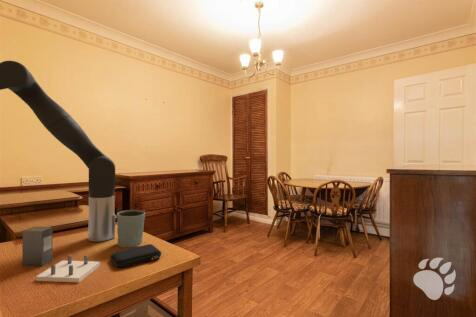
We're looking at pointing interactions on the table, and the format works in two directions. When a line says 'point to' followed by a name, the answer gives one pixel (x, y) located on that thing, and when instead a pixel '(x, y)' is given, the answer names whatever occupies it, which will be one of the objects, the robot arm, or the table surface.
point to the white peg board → (69, 270)
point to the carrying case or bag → (135, 255)
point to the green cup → (130, 227)
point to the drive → (37, 246)
